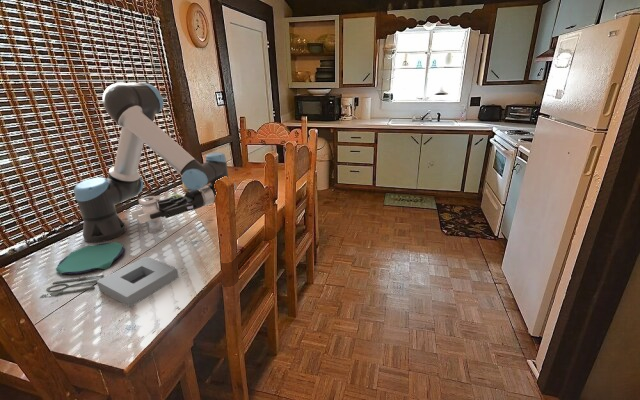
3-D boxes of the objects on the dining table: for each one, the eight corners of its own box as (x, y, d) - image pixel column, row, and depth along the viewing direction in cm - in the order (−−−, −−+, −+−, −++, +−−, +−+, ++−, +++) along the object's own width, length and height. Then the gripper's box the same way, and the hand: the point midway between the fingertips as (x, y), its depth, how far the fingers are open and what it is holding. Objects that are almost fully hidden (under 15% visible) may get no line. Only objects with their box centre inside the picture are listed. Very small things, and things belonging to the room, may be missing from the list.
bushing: (142, 232, 107) (134, 200, 102) (158, 225, 112) (151, 194, 107) (153, 236, 104) (145, 203, 100) (169, 228, 109) (162, 197, 105)
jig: (99, 290, 93) (96, 281, 92) (148, 264, 106) (146, 256, 105) (129, 307, 86) (126, 297, 85) (178, 277, 99) (176, 268, 98)
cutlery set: (132, 243, 121) (131, 238, 120) (100, 291, 94) (98, 285, 93) (76, 251, 117) (74, 245, 116) (26, 303, 90) (23, 297, 89)
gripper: (213, 212, 114) (149, 235, 98) (189, 201, 125) (127, 220, 108) (210, 193, 112) (144, 213, 95) (185, 184, 122) (122, 201, 106)
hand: (135, 217), depth 102 cm, fingers closed on bushing, 5 cm apart
